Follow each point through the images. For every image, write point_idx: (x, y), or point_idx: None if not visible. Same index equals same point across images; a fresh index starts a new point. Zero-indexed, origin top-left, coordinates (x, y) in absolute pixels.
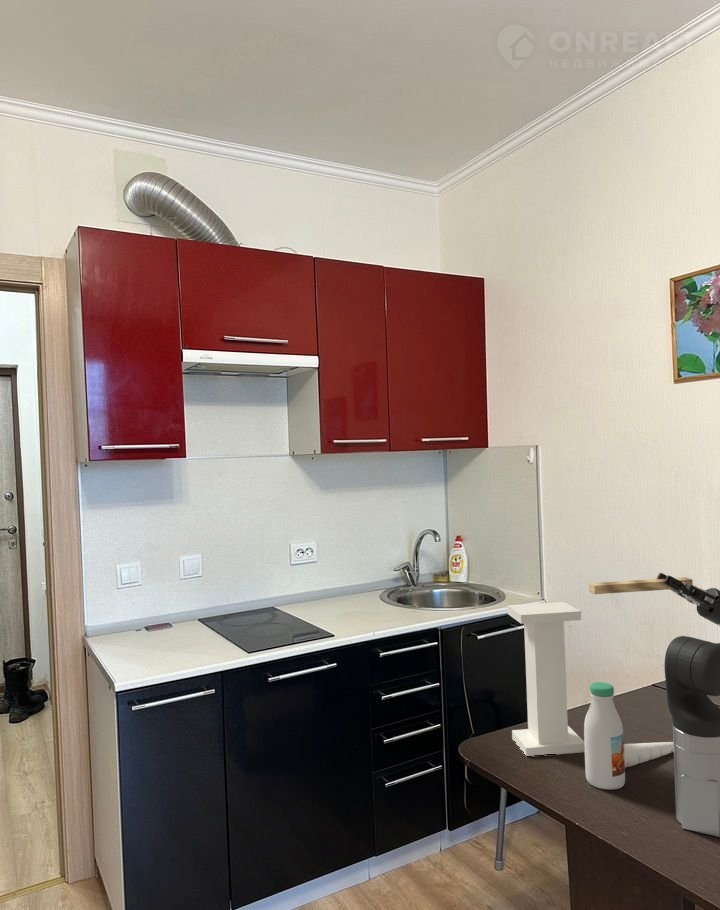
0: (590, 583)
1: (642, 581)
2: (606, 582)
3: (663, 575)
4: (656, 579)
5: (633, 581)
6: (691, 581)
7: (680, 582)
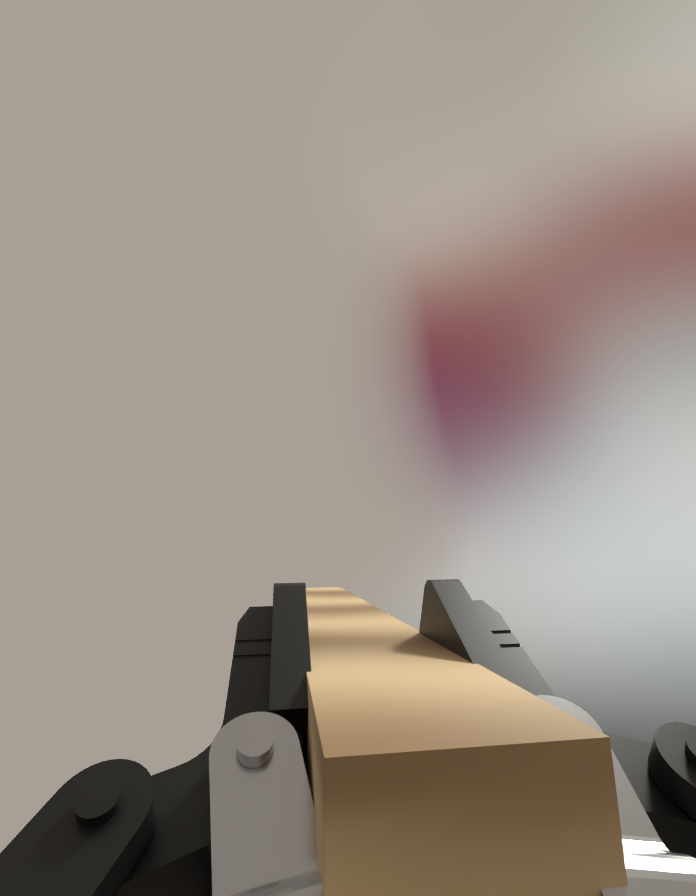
0: (335, 587)
1: (333, 612)
2: (343, 592)
3: (436, 606)
4: (398, 629)
5: (343, 605)
6: (326, 799)
7: (270, 702)
